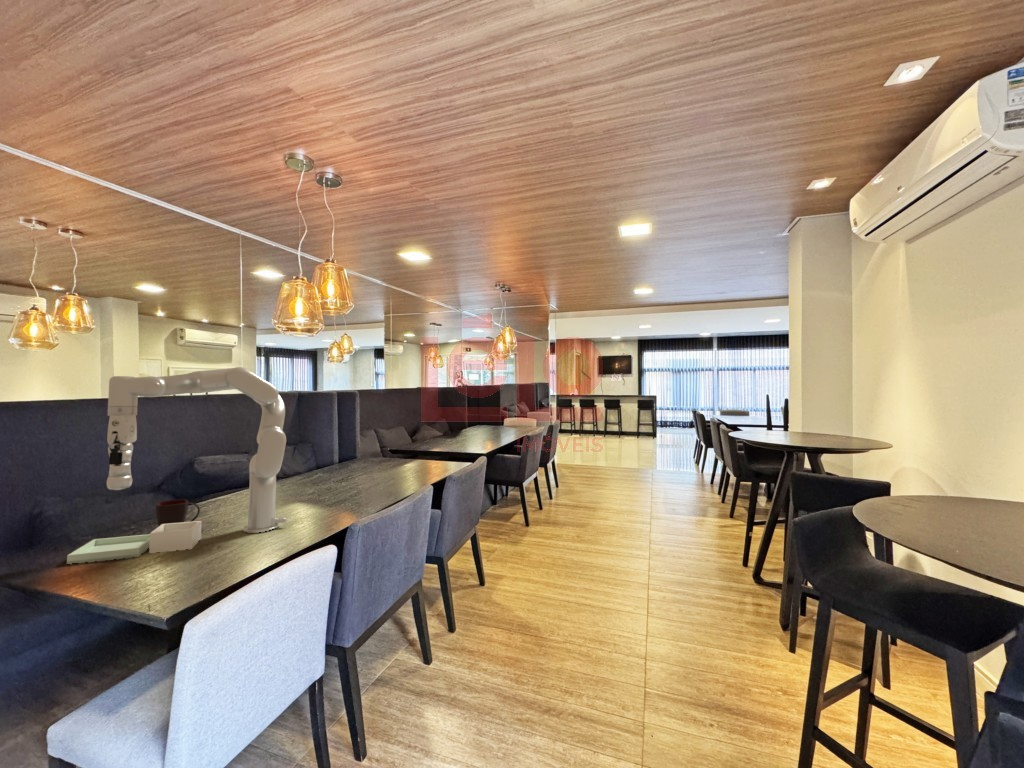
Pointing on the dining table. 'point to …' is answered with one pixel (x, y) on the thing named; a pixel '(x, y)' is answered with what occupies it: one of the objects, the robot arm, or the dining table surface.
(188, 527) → the white storage bin
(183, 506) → the mug
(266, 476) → the robot arm
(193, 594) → the dining table surface
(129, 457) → the plastic bottle
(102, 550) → the tray
